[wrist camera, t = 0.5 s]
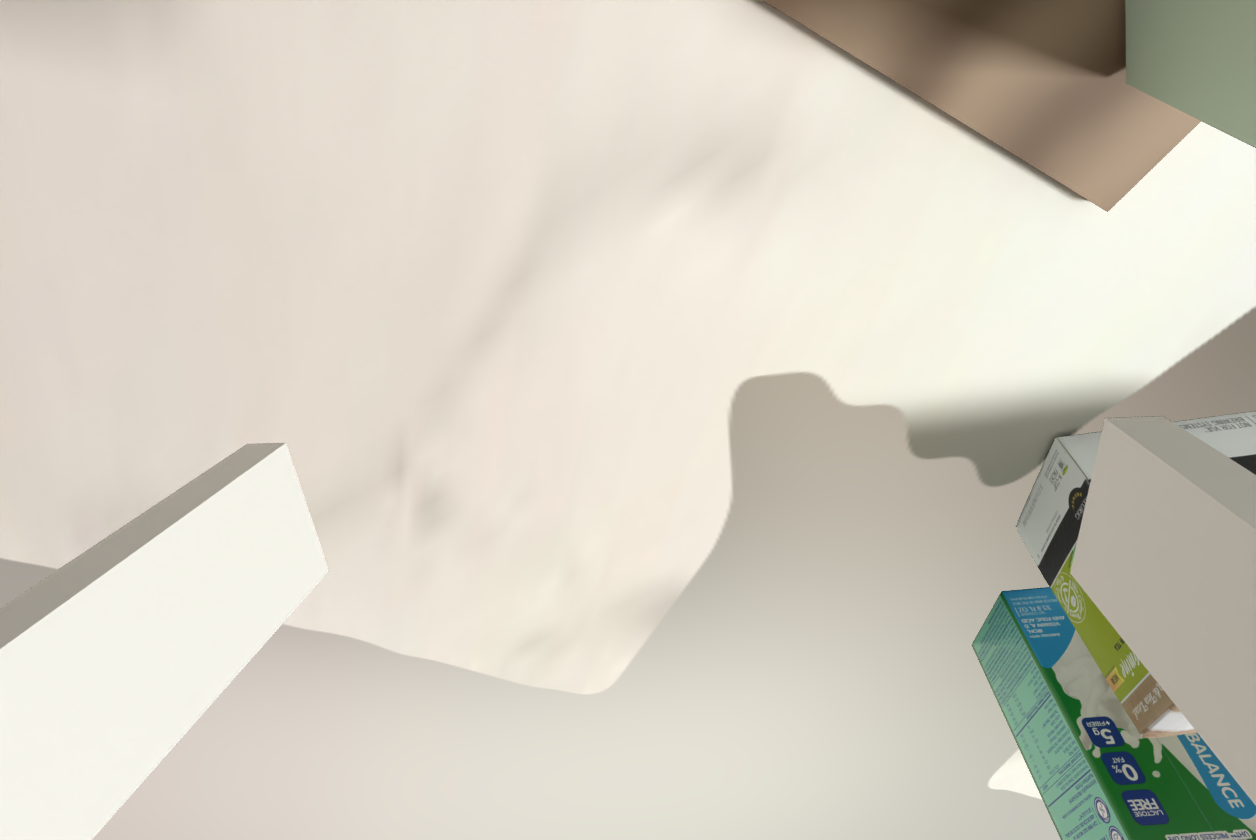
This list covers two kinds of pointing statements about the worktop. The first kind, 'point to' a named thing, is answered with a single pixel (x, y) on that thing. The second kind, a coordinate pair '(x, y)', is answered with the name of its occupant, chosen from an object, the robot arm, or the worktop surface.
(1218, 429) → the tea box
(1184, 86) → the gate
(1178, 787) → the milk carton
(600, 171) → the worktop surface
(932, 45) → the wooden stand
